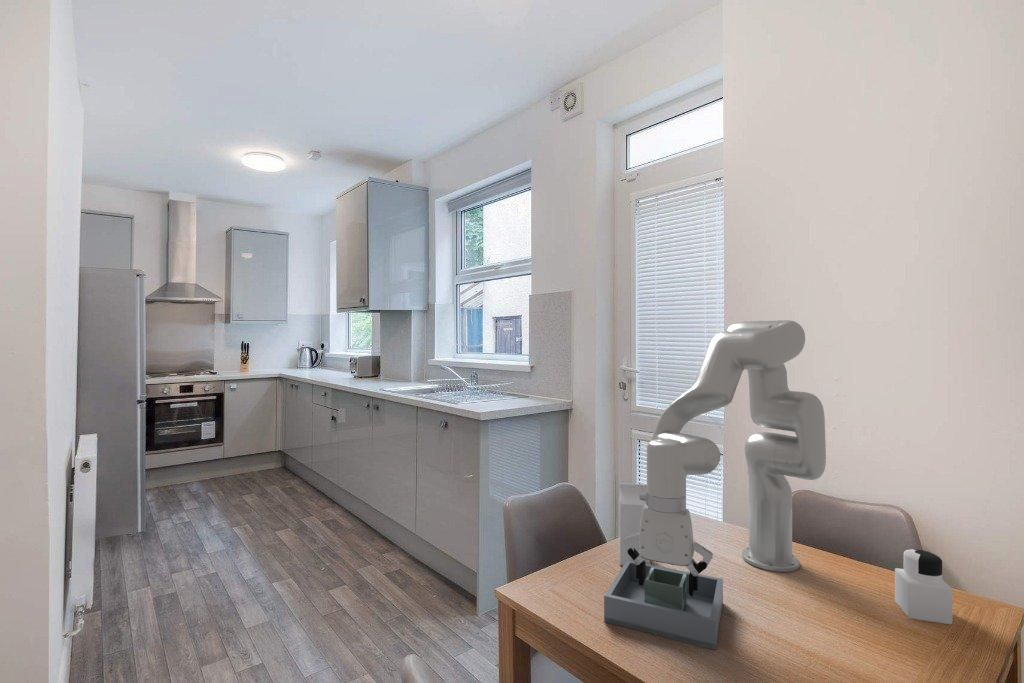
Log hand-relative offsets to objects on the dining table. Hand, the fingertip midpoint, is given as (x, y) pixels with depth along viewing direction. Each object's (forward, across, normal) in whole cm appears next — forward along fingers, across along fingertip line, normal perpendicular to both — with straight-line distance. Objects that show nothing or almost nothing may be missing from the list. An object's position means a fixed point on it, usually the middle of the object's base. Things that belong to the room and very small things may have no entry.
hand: (666, 587), depth 101 cm
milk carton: (+5, -11, +21) cm, 24 cm away
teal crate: (+4, 0, 0) cm, 4 cm away
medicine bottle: (+5, +46, +23) cm, 51 cm away
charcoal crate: (+5, 0, 0) cm, 5 cm away
